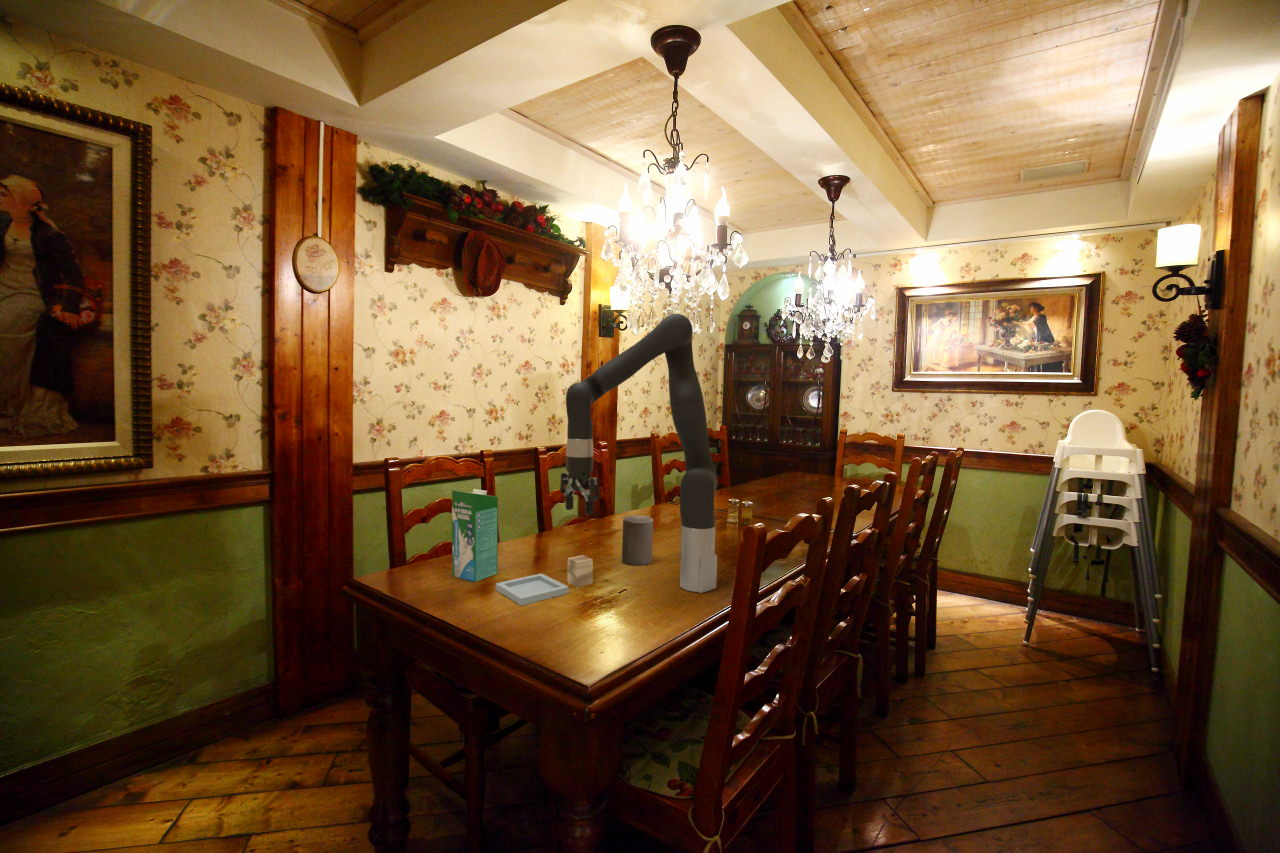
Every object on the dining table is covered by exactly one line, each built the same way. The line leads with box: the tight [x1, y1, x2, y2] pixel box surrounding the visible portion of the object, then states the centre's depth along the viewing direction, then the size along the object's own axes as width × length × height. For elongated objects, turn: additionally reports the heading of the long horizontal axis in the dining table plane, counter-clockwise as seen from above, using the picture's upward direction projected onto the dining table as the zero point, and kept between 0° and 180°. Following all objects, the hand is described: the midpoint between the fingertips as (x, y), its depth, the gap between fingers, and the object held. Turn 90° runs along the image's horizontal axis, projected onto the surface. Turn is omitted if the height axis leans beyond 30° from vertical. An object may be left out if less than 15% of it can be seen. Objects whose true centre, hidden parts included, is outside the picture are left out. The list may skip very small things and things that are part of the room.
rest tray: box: [495, 572, 570, 606], centre depth 153 cm, size 14×14×2 cm
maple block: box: [566, 554, 594, 588], centre depth 160 cm, size 5×5×7 cm
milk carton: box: [451, 488, 499, 583], centre depth 165 cm, size 9×9×25 cm
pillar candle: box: [621, 514, 654, 566], centre depth 181 cm, size 10×10×15 cm
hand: (579, 511), depth 161 cm, fingers open, 8 cm apart
